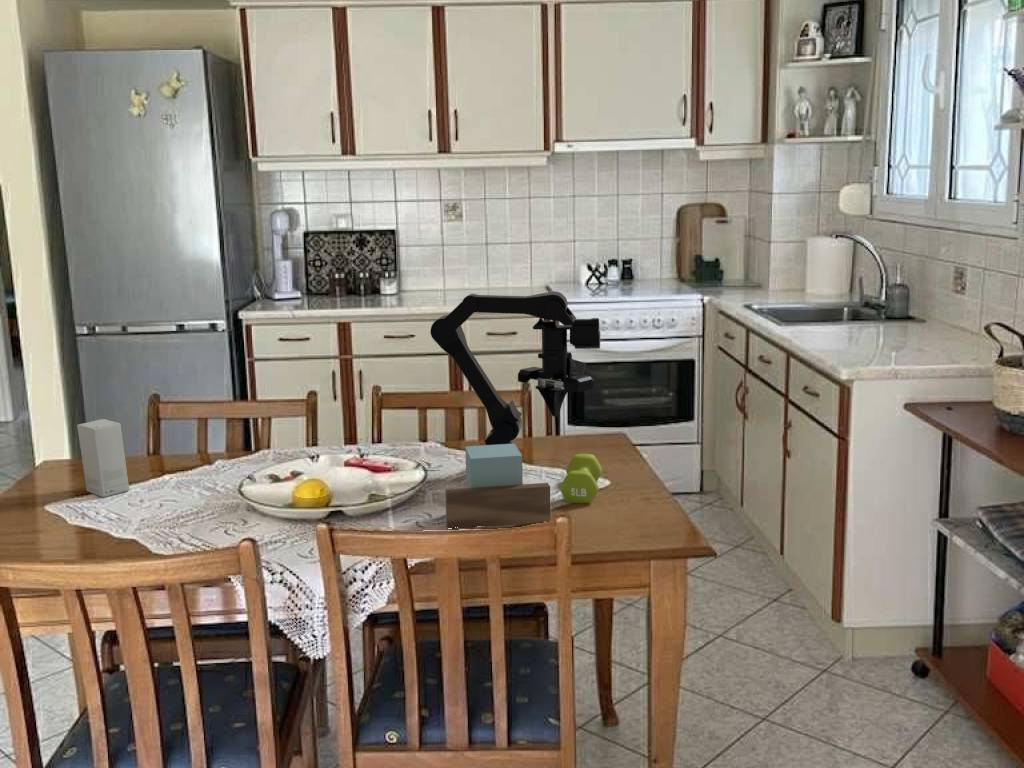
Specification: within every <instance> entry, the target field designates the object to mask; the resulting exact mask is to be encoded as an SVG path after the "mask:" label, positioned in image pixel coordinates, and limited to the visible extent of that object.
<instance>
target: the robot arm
mask: <svg viewBox="0 0 1024 768" xmlns="http://www.w3.org/2000/svg"><path fill="white" fill-rule="evenodd" d="M475 313H476V314H477V313H480V314H481V313H482V314H486V313H487V314H515V315H516V314H519V315H526V316H527V315H529V316H532V317H535V318H539V319H538V321H537V322H536V323H534V324H533V326H532V329H533V330H541V352H539V353H537V358H538V359H541V367H538V366H531V367H525V368H522V369H521V368H520V369H519V371H518V373H517V383H518V382H519V383H524V384H528V383H529V382H530V380H535V381H537V385H535V386H534V387H535V389H536V390H538V392H539V393H540V395H541V397H542V398H543V399H542V400H544V402H545V404H546V406H547V409H548V410H549V411H550V414H551V416H552V417H554V418H555V417H556V418H557V417H558V416H559V414H560V412H561V409H562V406H563V403H564V400H565V398H566V396H567V394H568V393H569V392H571V393H580V392H586V391H589V390H594V378H592V376H591V375H590V376H589V375H584V373H585V371H586V365H587V363H586V362H584V361H580V360H577V359H574V358H573V354H572V352H569V351H568V330H569V344H570V345H572V346H574V349H578V350H584V349H585V350H588V349H589V350H591V349H593V350H598V349H599V350H600V349H601V330H600V318H599V317H593V318H577V317H576V316H575V314H574V313H573V312H572V311H571V309H570V308H569V307H568V299H567V298H566V296H565V295H564V294H563V293H562V292H560V291H547V292H542V293H537V294H533V295H532V294H531V295H494V294H493V295H491V294H489V295H488V294H476V293H469V294H467V295H466V296H465V297H463V299H462V301H461V302H460V303H459V304H458V305H457V306H456V307H455V308H454V309H453V310H452V311H451V312H449V314H445V315H442V316H440V317H439V318H437V319H436V320H435V321H434V322H432V325H431V326H430V332H429V333H430V336H431V338H432V339H433V341H434V342H435V343H436V344H437V345H438V346H439V347H440V348H441V349H442V350H443V351H444V352H445V353H447V354H448V355H449V356H450V357H451V358H452V359H453V360H454V362H455V363H456V364H457V366H458V368H459V369H460V371H461V372H462V374H463V376H464V377H465V379H466V380H467V382H468V383H469V385H470V387H471V388H472V390H473V391H474V392H475V394H476V396H477V397H478V399H479V400H480V402H481V404H482V405H483V407H484V408H485V410H486V413H487V417H488V420H489V423H490V427H491V430H490V431H489V433H488V434H487V436H486V438H485V439H484V444H485V445H498V444H513V443H512V441H514V440H515V439H516V438H517V437H518V435H519V433H520V431H521V429H522V426H523V419H522V415H523V414H522V412H520V411H519V410H518V408H517V407H516V404H515V402H514V400H510V401H509V402H507V401H506V400H504V398H502V397H501V396H500V394H499V393H498V391H497V389H496V388H495V386H494V385H493V383H492V381H491V380H490V378H489V376H488V375H487V374H486V372H485V371H484V368H483V367H482V366H481V365H480V363H479V362H478V360H477V358H476V356H475V355H474V354H473V352H472V351H471V349H470V347H469V345H468V342H467V338H466V335H465V332H464V329H463V328H462V325H463V324H464V323H465V322H466V321H467V320H468V319H469V318H471V316H472V315H473V314H475ZM558 322H559V323H560V324H558Z"/></svg>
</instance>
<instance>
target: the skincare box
mask: <svg viewBox="0 0 1024 768" xmlns="http://www.w3.org/2000/svg"><path fill="white" fill-rule="evenodd" d="M121 424H122V423H120V422H117V421H112V420H109V419H105V418H103V419H97V420H92V421H88V422H85V423H84V422H83V423H80V424H77V425H76V427H77V428H76V429H77V433H78V439H79V440H78V441H79V447H80V454H81V461H82V462H81V463H82V467H83V468H82V469H83V474H84V475H83V476H84V481H85V489H86V492H88V493H91V494H93V495H96V496H99V497H100V498H107V497H111V496H116V495H119V494H122V493H126V492H129V491H130V485H129V478H128V470H127V464H126V456H125V455H126V454H125V450H124V449H125V447H124V440H123V439H124V438H123V434H122V432H123V431H122V426H121Z"/></svg>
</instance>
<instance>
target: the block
mask: <svg viewBox="0 0 1024 768" xmlns="http://www.w3.org/2000/svg"><path fill="white" fill-rule="evenodd" d="M464 447H465V449H464V452H465V477H466V478H465V479H466V480H465V483H466V485H465V486H466V487H465V488H475V487H490V486H505V485H520V484H524V483H523V455H522V453H521V451H520V450H519V448H518V447H517V445H516V443H512V444H498V445H486V444H484V445H470V446H467V445H466V446H464Z"/></svg>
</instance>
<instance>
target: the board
mask: <svg viewBox="0 0 1024 768" xmlns="http://www.w3.org/2000/svg"><path fill="white" fill-rule="evenodd" d="M550 485H551V484H550V483H549V482H539V483H538V482H537V483H523V484H520V485H505V486H490V487H475V488H467V487H463V488H450V489H445V518H446V519H445V520H446V528H447V527H448V528H452V529H451V530H458V529H457V527H458V528H465V529H475V527H477V526H486V527H485V528H488V527H487V526H492V527H503V526H505V527H506V526H516V525H517V526H519V525H532V524H531V523H533V524H538V523H537V522H544V521H550V520H551V517H552V516H551V486H550ZM455 527H456V528H455ZM448 528H447V529H448Z"/></svg>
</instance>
